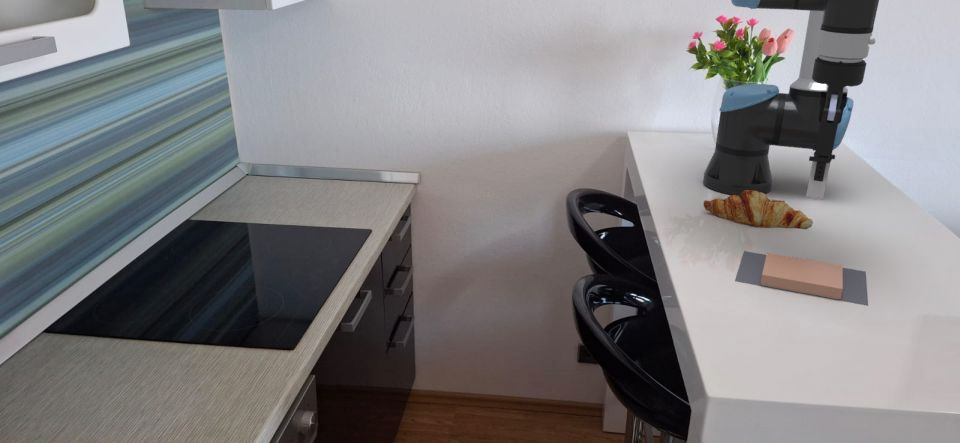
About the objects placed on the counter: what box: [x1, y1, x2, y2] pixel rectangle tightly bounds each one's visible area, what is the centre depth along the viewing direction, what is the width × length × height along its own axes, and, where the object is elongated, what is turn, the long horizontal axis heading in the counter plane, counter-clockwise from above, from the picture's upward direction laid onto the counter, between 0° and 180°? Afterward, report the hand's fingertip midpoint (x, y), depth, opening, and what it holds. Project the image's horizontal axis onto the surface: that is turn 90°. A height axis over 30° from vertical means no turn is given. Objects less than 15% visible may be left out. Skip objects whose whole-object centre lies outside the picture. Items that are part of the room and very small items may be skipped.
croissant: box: [703, 190, 814, 230], centre depth 151 cm, size 21×10×8 cm, turn 67°
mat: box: [734, 250, 869, 307], centre depth 126 cm, size 14×20×1 cm
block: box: [760, 252, 844, 301], centre depth 124 cm, size 2×12×10 cm
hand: (814, 196), depth 128 cm, fingers closed
